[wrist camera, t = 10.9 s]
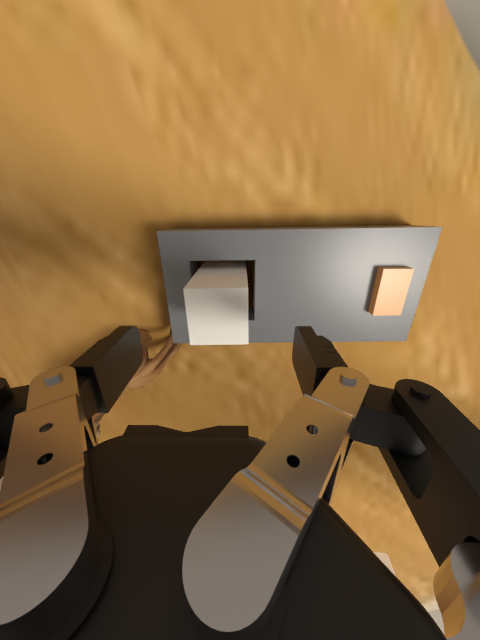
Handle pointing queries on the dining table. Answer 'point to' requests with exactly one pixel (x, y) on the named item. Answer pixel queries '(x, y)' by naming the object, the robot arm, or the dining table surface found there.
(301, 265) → the grey board with slot
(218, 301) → the white rectangular block
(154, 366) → the lion figurine
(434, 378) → the dining table surface
